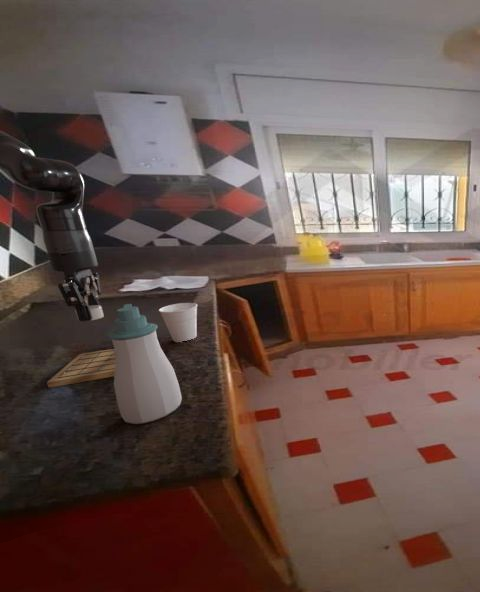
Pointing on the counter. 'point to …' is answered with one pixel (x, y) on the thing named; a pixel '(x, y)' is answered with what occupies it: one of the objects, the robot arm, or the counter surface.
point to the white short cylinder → (95, 312)
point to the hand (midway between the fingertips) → (90, 317)
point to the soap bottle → (141, 370)
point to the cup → (180, 320)
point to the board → (86, 368)
